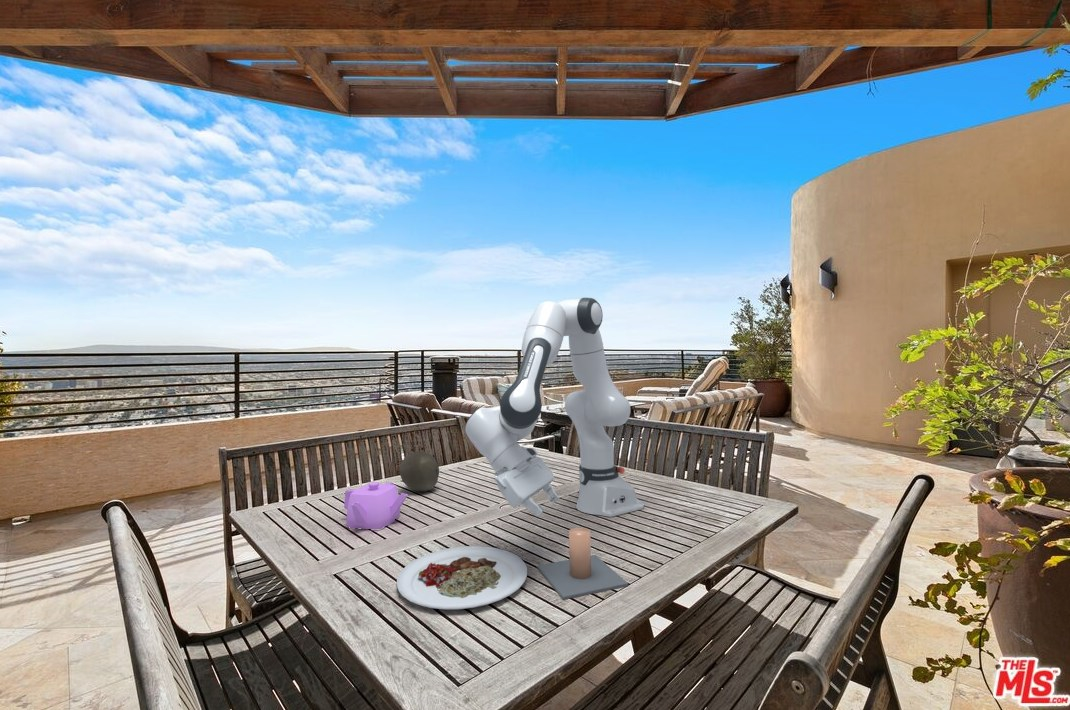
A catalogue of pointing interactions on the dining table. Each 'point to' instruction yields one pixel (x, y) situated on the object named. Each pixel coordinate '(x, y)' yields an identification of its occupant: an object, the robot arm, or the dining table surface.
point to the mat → (574, 587)
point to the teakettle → (373, 505)
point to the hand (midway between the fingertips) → (549, 507)
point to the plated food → (462, 577)
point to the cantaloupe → (419, 471)
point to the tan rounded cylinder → (580, 553)
